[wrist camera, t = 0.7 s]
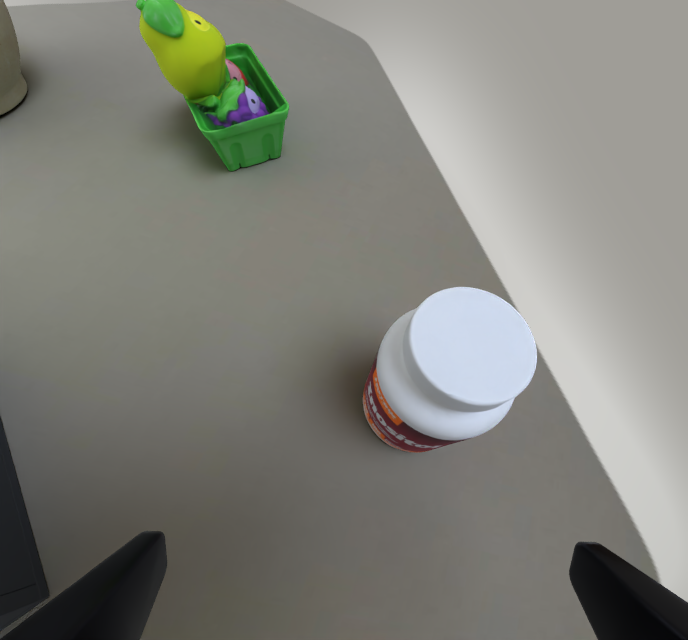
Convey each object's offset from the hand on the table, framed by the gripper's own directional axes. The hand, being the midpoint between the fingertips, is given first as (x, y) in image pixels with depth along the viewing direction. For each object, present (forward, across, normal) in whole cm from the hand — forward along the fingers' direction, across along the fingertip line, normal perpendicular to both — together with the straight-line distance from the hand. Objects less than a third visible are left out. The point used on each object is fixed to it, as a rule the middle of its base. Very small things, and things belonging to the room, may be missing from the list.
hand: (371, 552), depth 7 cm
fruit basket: (+30, +12, -16) cm, 36 cm away
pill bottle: (+14, -4, +4) cm, 15 cm away
